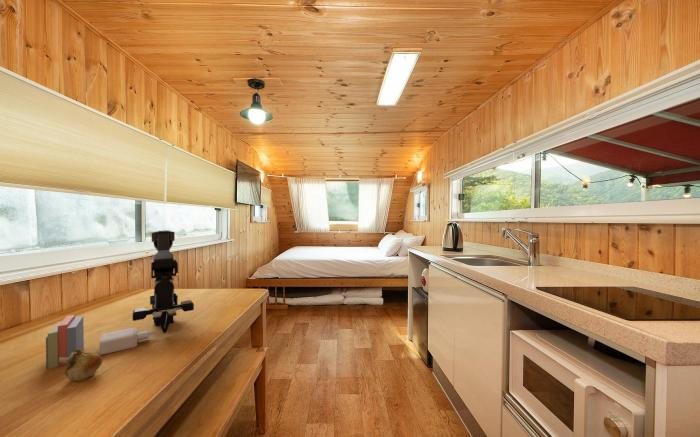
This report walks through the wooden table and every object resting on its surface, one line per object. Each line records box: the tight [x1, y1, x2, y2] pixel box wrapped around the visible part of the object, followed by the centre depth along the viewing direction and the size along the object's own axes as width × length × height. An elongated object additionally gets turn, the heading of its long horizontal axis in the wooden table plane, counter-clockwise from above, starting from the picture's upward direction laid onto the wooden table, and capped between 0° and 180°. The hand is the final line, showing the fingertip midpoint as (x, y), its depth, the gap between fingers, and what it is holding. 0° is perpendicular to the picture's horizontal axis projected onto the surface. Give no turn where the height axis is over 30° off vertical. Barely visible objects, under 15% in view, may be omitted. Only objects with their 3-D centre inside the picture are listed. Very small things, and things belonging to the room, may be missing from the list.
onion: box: [59, 349, 104, 382], centre depth 77 cm, size 8×8×8 cm
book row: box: [45, 314, 85, 369], centre depth 89 cm, size 7×12×12 cm, turn 36°
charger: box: [99, 327, 156, 356], centre depth 98 cm, size 5×9×15 cm
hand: (164, 332), depth 104 cm, fingers closed
